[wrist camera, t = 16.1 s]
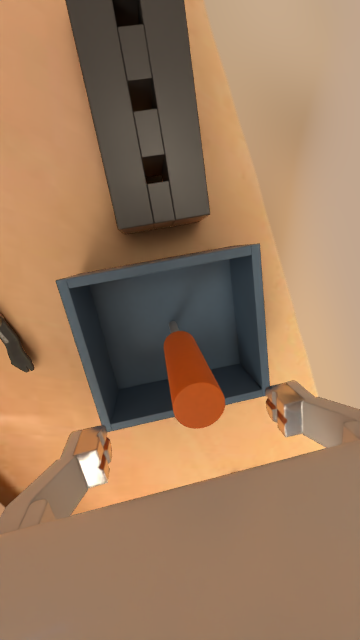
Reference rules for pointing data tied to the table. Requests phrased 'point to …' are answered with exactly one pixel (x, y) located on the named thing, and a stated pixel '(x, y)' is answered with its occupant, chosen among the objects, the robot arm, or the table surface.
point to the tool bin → (153, 328)
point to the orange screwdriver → (191, 381)
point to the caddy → (143, 108)
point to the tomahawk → (14, 347)
